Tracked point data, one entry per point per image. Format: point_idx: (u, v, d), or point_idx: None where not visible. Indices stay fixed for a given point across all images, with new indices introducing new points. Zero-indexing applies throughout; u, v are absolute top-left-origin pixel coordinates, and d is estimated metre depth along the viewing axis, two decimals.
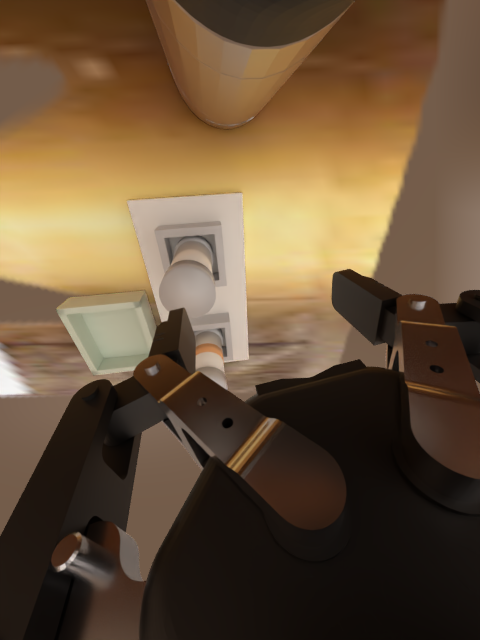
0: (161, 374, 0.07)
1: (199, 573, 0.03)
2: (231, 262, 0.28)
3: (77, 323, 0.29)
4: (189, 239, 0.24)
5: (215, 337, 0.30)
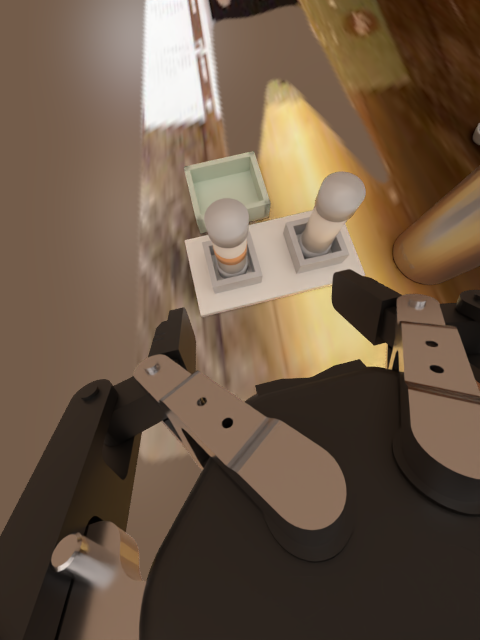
0: (161, 374, 0.07)
1: (199, 573, 0.03)
2: (311, 276, 0.33)
3: (237, 165, 0.36)
4: None
5: (244, 262, 0.30)
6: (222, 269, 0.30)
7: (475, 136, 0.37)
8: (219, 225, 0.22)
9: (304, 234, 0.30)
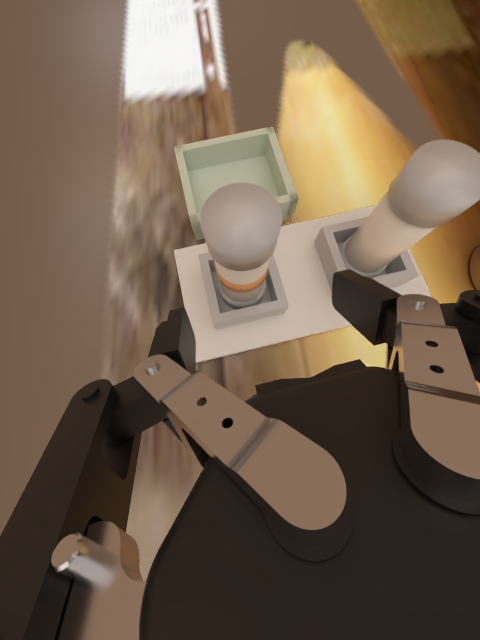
0: (161, 373, 0.07)
1: (199, 573, 0.03)
2: None
3: (249, 146, 0.26)
4: None
5: (262, 286, 0.20)
6: (228, 296, 0.20)
7: None
8: (228, 231, 0.12)
9: (352, 245, 0.20)
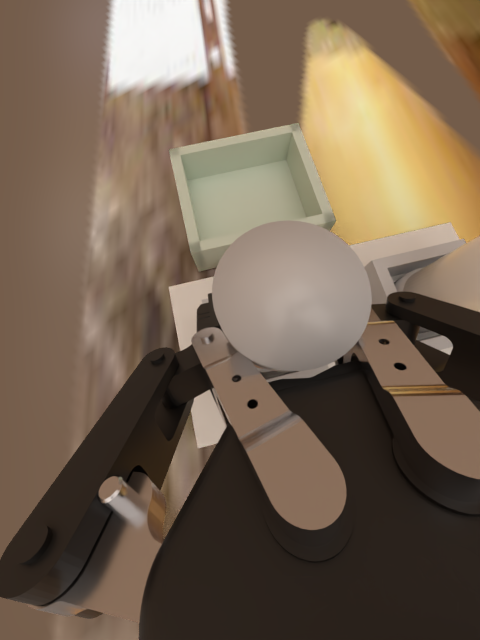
0: (212, 345, 0.08)
1: (199, 573, 0.03)
2: None
3: (267, 149, 0.20)
4: None
5: None
6: None
7: None
8: (267, 320, 0.06)
9: (421, 290, 0.14)
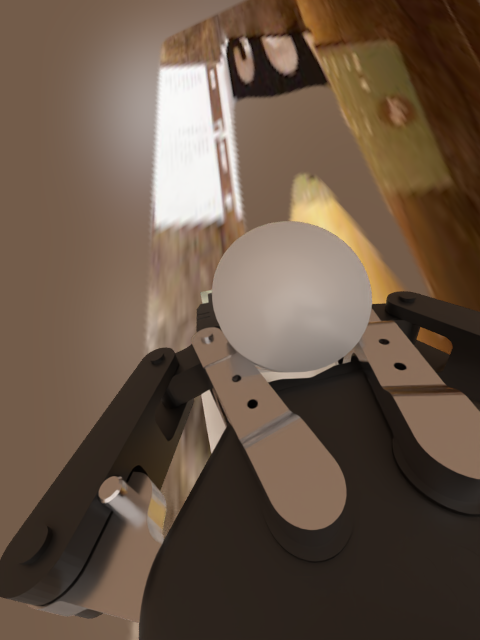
0: (212, 345, 0.08)
1: (199, 573, 0.03)
2: None
3: None
4: None
5: None
6: None
7: None
8: (267, 321, 0.06)
9: None
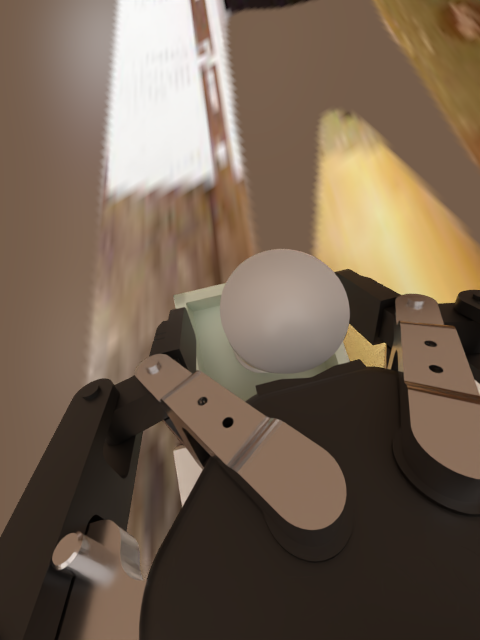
0: (162, 373, 0.07)
1: (199, 573, 0.03)
2: None
3: None
4: None
5: None
6: (246, 363, 0.16)
7: None
8: (265, 332, 0.08)
9: None
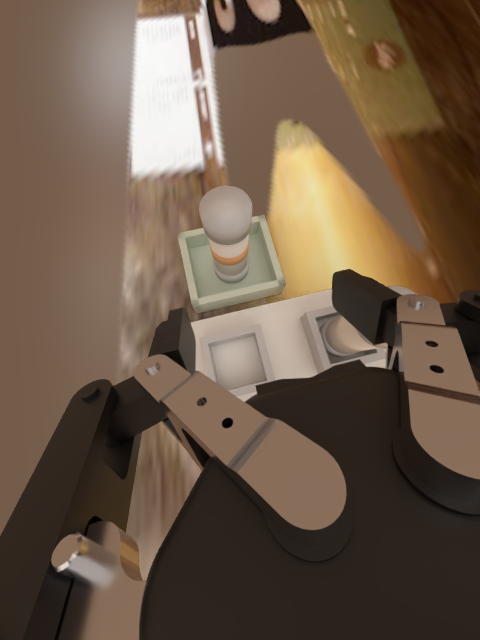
0: (161, 374, 0.07)
1: (199, 573, 0.03)
2: None
3: None
4: None
5: (245, 263, 0.26)
6: (220, 270, 0.27)
7: None
8: (217, 217, 0.19)
9: (331, 333, 0.23)
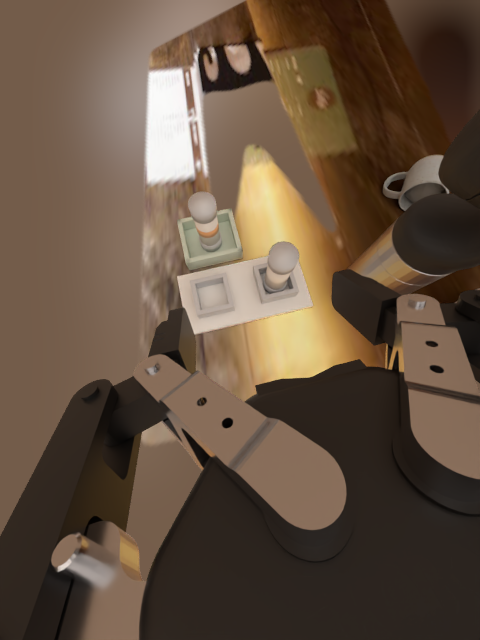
0: (161, 374, 0.07)
1: (199, 573, 0.03)
2: (272, 306, 0.43)
3: (218, 218, 0.46)
4: None
5: (218, 237, 0.43)
6: (203, 242, 0.44)
7: (383, 190, 0.49)
8: (197, 208, 0.36)
9: (265, 276, 0.41)
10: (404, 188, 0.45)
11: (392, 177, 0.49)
